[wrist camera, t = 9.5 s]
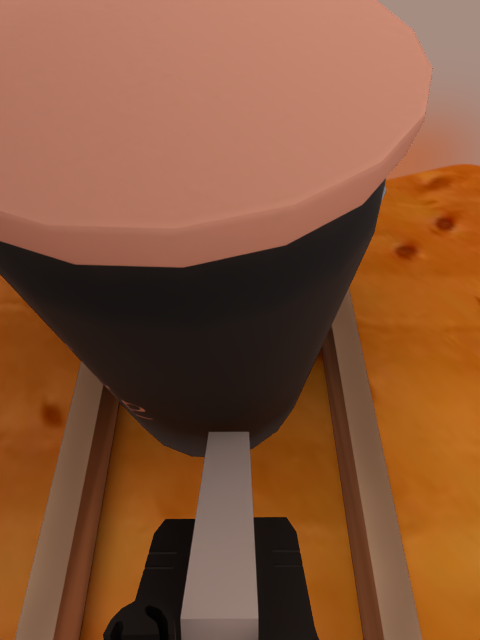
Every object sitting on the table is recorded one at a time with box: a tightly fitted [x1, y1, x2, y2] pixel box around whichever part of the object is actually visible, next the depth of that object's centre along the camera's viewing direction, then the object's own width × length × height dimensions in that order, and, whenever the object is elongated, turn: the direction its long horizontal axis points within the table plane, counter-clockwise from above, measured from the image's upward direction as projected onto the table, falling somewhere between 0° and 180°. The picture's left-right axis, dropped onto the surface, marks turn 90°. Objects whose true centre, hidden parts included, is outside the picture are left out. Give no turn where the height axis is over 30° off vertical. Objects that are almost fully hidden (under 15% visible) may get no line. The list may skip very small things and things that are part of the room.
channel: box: [15, 187, 422, 640], centre depth 16 cm, size 16×24×10 cm, turn 1°
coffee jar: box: [0, 0, 433, 457], centre depth 15 cm, size 11×11×18 cm
